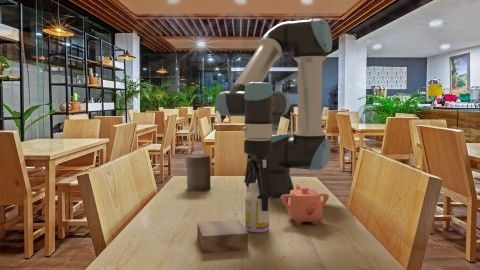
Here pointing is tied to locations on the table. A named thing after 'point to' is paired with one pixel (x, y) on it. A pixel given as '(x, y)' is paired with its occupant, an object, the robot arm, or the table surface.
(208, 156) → the pillar candle
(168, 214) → the table surface
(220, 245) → the block
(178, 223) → the table surface
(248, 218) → the supplement bottle
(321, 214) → the teapot
